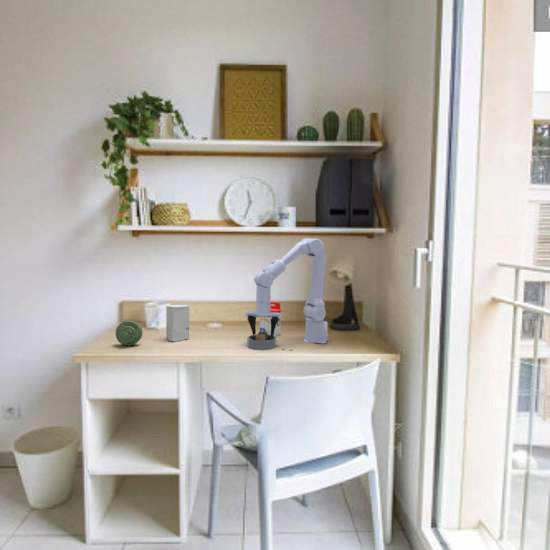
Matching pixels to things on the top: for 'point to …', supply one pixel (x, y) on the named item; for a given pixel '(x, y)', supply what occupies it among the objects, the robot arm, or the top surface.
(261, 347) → the charcoal cup
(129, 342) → the decorative artifact
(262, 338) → the walnut peg in cup
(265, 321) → the ink box
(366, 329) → the top surface
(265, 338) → the loose walnut peg
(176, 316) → the skincare box
